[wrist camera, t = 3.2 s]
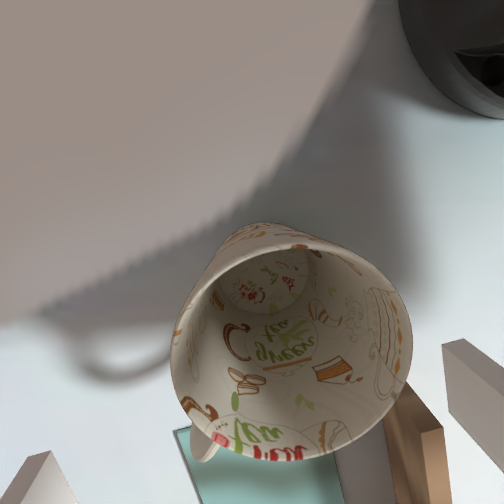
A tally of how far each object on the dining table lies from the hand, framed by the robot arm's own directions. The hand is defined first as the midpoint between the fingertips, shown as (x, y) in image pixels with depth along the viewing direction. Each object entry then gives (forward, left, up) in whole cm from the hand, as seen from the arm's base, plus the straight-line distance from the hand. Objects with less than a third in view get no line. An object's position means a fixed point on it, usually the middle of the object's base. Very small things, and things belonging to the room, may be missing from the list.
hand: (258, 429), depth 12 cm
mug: (0, 0, -11) cm, 11 cm away
